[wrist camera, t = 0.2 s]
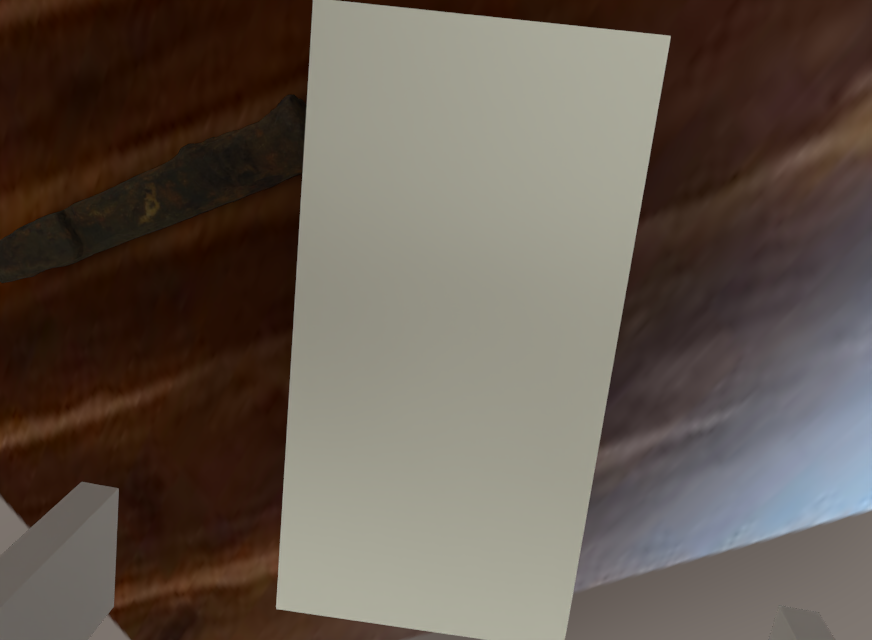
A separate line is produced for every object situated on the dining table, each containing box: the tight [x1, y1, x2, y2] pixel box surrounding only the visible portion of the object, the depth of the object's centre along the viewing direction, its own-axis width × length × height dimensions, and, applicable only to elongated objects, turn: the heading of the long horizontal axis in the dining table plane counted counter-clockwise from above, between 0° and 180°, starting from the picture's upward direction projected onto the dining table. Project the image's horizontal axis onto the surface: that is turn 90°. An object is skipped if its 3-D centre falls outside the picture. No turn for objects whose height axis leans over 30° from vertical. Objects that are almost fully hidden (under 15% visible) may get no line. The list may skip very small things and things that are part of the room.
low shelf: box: [276, 0, 671, 640], centre depth 36 cm, size 24×12×12 cm, turn 174°
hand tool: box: [0, 95, 307, 283], centre depth 41 cm, size 19×4×5 cm, turn 109°
